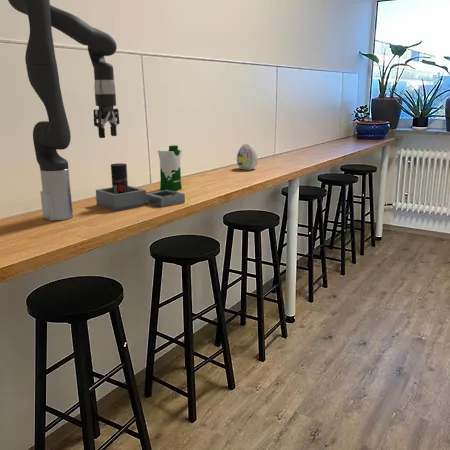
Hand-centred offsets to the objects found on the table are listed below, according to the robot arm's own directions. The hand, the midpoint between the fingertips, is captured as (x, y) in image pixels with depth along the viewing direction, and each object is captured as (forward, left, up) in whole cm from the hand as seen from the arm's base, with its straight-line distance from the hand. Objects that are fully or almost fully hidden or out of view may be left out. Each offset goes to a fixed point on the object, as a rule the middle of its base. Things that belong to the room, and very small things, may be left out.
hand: (108, 136), depth 173 cm
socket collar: (+16, -13, -26) cm, 33 cm away
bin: (+1, -5, -26) cm, 27 cm away
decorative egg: (+101, +21, -27) cm, 107 cm away
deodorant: (+1, -5, -25) cm, 26 cm away
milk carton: (+33, +5, -26) cm, 43 cm away
